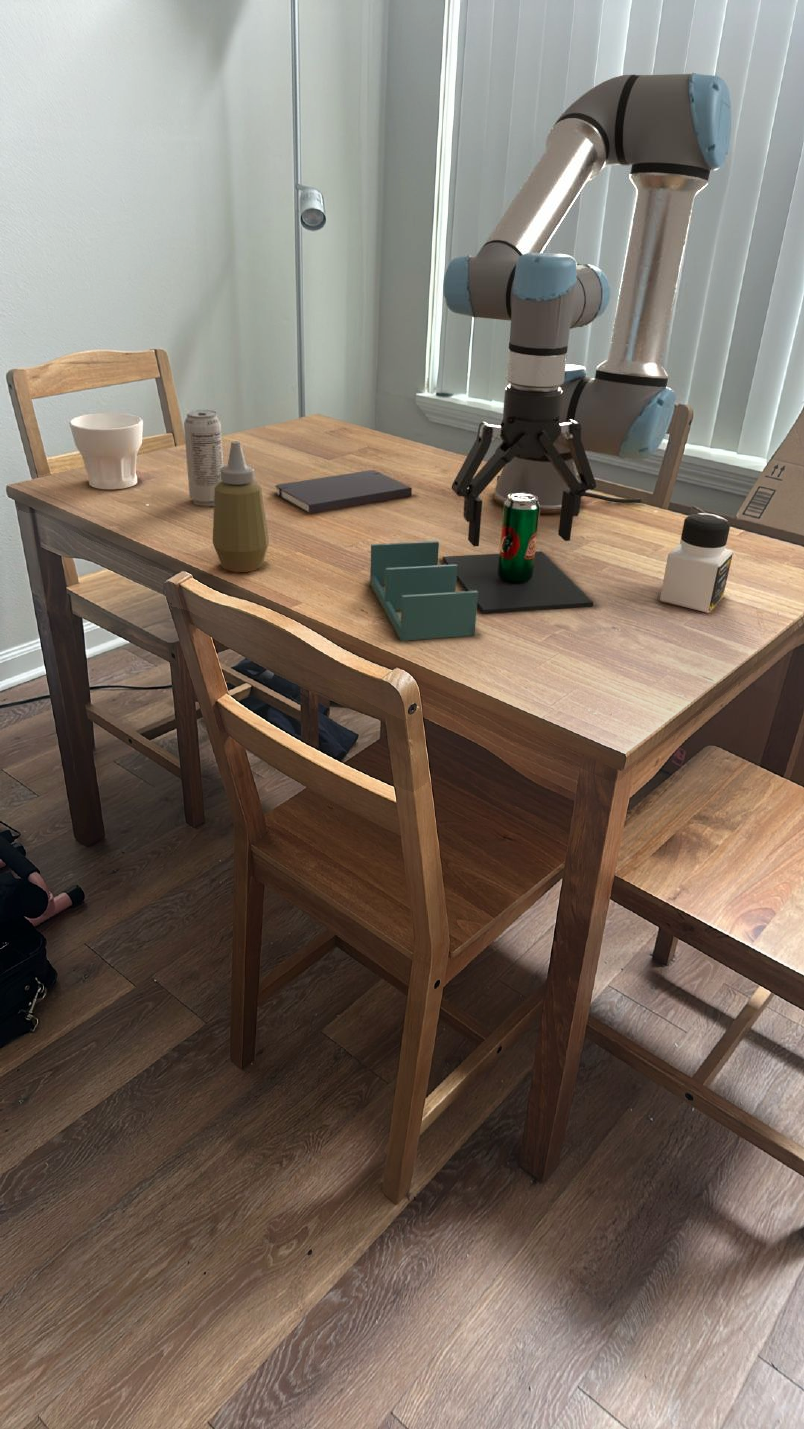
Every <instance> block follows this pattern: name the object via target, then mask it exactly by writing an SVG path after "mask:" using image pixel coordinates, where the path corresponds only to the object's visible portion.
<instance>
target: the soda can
mask: <svg viewBox="0 0 804 1429" xmlns="http://www.w3.org/2000/svg"><path fill="white" fill-rule="evenodd" d="M538 500H539V499H538V497H537V496H535V495H533V494H528V493H512V494H509V495H508V496H507V500H506V501H505V502H504V506H503V508H502V509H503V510H502V521H501V522H502V523H501V531H500V543H499V552H498V554H499V562H498V573H497V574H498V576H499V577H500V578H501V579H502V580H503V581H505V582H508V583H514V584H520V583H525V582H528V581H529V580H530V579H531V578H532V576H533V568H534V559H535V552H536V550H537V549H536V548H537V541H538V540H537V539H538V531H539V523H540V522H539V521H540V514H541V513H540V504H539V502H538Z"/></svg>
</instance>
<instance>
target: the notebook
mask: <svg viewBox="0 0 804 1429" xmlns="http://www.w3.org/2000/svg"><path fill="white" fill-rule="evenodd" d="M274 486H275V488H276V492H275V495H276V496H277V497H279V498H281V499H283V500H285V501H287V502H288V503H290V504H292V505H293V506H294V507H297V508H298V509H300V510H302V511H304V512H306V513H308V514H315V513H320V512H321V513H322V512H326V511H331V510H337V509H343V508H349V507H355V506H361V505H366V504H367V505H368V504H372V503H377V502H384V501H389V500H394V499H395V500H396V499H401V498H406V497H412V496H413V495H412V493H413V487H412V486H410V485H407V484H405V483H403V482H401V481H399V480H398V479H397V480H396V479H394V478H392V477H390V476H388V475H386V474H383V473H382V472H379V471H377V470H373V469H371V470H363V471H357V472H349V473H343V474H337V475H331V476H325V477H318V478H311V479H305V480H298V481H291V482H285V483H280V484H279V483H278V484H275V485H274Z"/></svg>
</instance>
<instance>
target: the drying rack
mask: <svg viewBox="0 0 804 1429" xmlns="http://www.w3.org/2000/svg"><path fill="white" fill-rule="evenodd" d="M439 549H440V541H438V540H428V541H427V540H425V541H408V542H406V541H405V542H388V543H387V542H386V543H371V544H370V570H369V571H370V573H369V584H370V587H371V588H372V590H373V592H374V594H375V596H376V598H377V599H378V601H379V603H380V605H381V607H382V609H383V611H384V612H385V614H386V616H387V618H388V620H389V622H390V623H391V626H392V627H393V629H394V630H395V632H396V635H397V636H398V639H399V640H400V641H401V642H405V641H406V642H407V641H421V640H433V639H446V638H447V639H448V638H459V637H460V638H461V637H474V636H475V635H476V623H477V612H478V606H477V599H478V592H477V591H466V590H463V591H456V590H457V579H456V578H457V565H456V564H452V565H446V564H439V552H440V550H439ZM382 586H384V589H383V587H382ZM399 611H400V617H399V615H398V614H397V612H399Z"/></svg>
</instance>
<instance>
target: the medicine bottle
mask: <svg viewBox="0 0 804 1429" xmlns="http://www.w3.org/2000/svg"><path fill="white" fill-rule="evenodd" d="M730 530H731V524H730V521H728V520H727V519H726V518H724V517H722V516H720V515H717V514H713V513H707V512H698V513H692V514H690V515H688V516H686V517H685V518H684V520H683V525H682V531H681V536H680V541H679V544H678V545H677V546H676V547H675V548H673V549H672V550H671V551H670V552H669V553H668V555H667V559H666V565H665V570H664V575H663V579H662V586H661V592H660V596H659V601H660V602H661V603H662V602H663V603H667V604H670V605H674V606H678V607H682V608H687V609H691V610H693V611H694V610H695V611H699V612H703V613H707V614H708V613H710V612H711V611H712V610H713V609H714V608H715V607H716V606H717V605H718V603H719V602H720V601H721V600H722V599H723V597H724V594H725V591H726V585H727V581H728V578H729V573H730V568H731V564H732V560H733V555H734V551H733V550H732V549H728V548H726V547H727V542H728V538H729V533H730Z"/></svg>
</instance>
